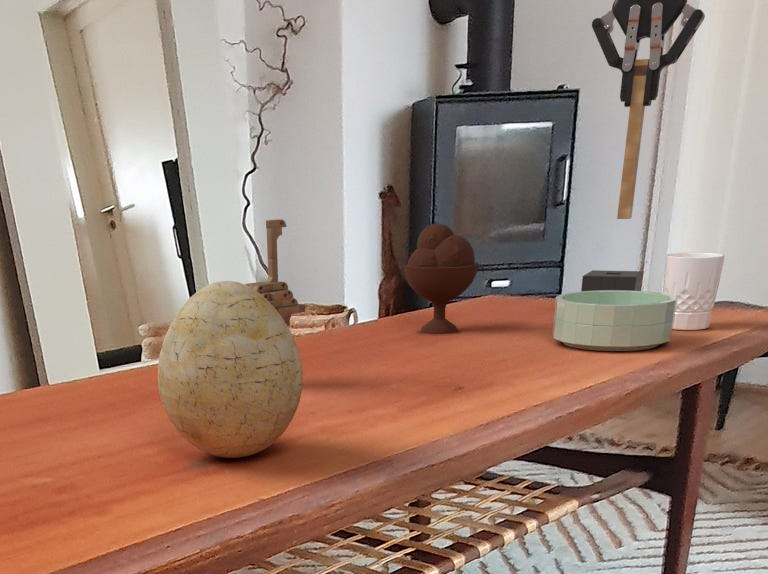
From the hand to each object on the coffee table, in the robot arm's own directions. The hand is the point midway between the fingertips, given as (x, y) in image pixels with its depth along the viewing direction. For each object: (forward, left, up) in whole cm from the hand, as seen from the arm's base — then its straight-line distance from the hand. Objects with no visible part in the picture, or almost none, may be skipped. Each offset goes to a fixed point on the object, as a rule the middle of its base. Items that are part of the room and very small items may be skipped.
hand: (637, 105), depth 121 cm
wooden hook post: (+35, +45, -29) cm, 64 cm away
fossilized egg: (+22, +69, -29) cm, 78 cm away
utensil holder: (+5, -28, -29) cm, 41 cm away
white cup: (-8, -16, -29) cm, 34 cm away
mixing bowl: (0, +1, -29) cm, 29 cm away
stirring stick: (0, 0, -13) cm, 13 cm away
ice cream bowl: (+26, -3, -29) cm, 39 cm away
